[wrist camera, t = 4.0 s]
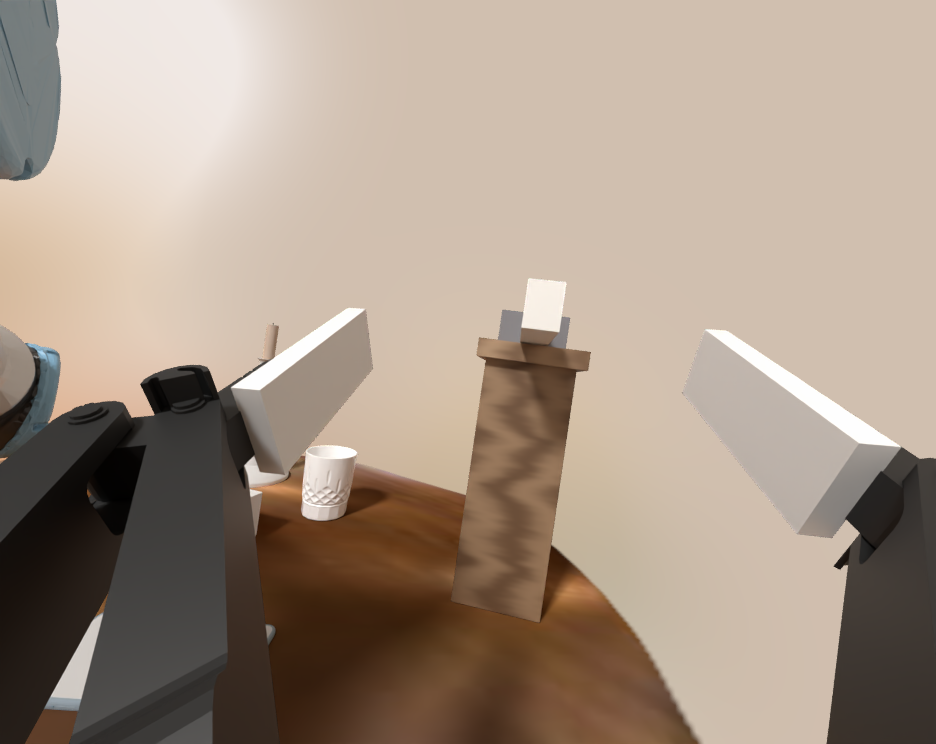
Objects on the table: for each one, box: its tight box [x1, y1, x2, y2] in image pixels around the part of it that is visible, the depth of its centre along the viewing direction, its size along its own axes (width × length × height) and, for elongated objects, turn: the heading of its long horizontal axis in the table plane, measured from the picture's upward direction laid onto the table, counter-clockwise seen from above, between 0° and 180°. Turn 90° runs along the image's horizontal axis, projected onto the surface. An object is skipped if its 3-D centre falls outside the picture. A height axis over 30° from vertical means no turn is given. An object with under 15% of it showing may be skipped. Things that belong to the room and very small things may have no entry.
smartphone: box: [44, 613, 275, 711], centre depth 27 cm, size 8×1×15 cm
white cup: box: [301, 445, 358, 521], centre depth 57 cm, size 8×8×10 cm
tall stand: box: [451, 338, 591, 623], centre depth 45 cm, size 12×14×30 cm
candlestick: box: [244, 324, 289, 488], centre depth 67 cm, size 13×13×30 cm
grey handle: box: [498, 278, 570, 349], centre depth 41 cm, size 9×27×5 cm, turn 172°
